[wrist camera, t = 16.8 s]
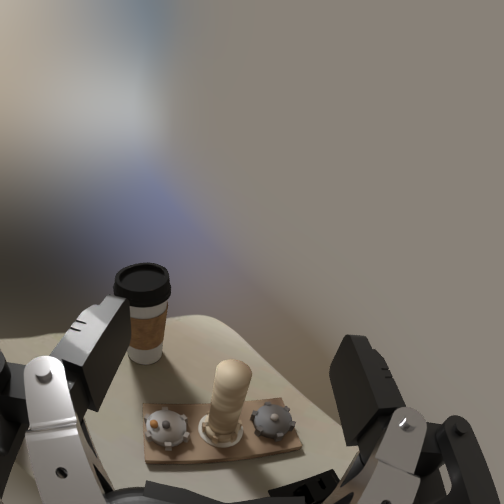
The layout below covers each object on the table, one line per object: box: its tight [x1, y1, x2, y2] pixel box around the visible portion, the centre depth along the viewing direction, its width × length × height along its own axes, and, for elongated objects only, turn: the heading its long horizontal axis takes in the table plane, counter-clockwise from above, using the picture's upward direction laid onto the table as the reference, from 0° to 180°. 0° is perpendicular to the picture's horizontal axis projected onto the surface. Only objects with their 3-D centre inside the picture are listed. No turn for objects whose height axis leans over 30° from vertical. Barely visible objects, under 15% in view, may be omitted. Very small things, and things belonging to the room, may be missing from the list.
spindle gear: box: [202, 359, 252, 444], centre depth 29 cm, size 5×5×12 cm
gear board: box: [143, 398, 302, 464], centre depth 31 cm, size 20×9×3 cm, turn 105°
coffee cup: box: [113, 263, 171, 365], centre depth 40 cm, size 8×8×15 cm
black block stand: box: [268, 469, 340, 504], centre depth 23 cm, size 12×7×5 cm, turn 109°
